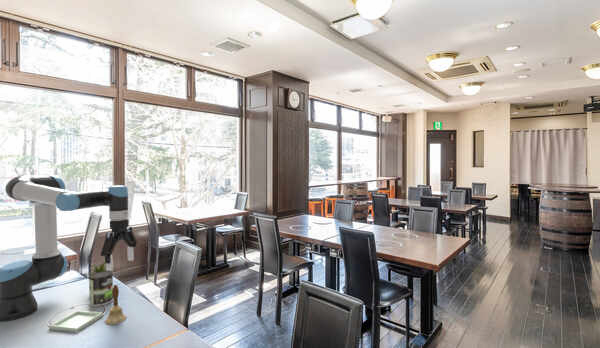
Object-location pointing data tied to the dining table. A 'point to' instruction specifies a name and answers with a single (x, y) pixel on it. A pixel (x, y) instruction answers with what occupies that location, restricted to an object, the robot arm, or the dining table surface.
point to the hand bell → (115, 310)
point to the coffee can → (101, 288)
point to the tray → (76, 321)
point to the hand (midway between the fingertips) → (120, 265)
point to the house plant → (98, 269)
